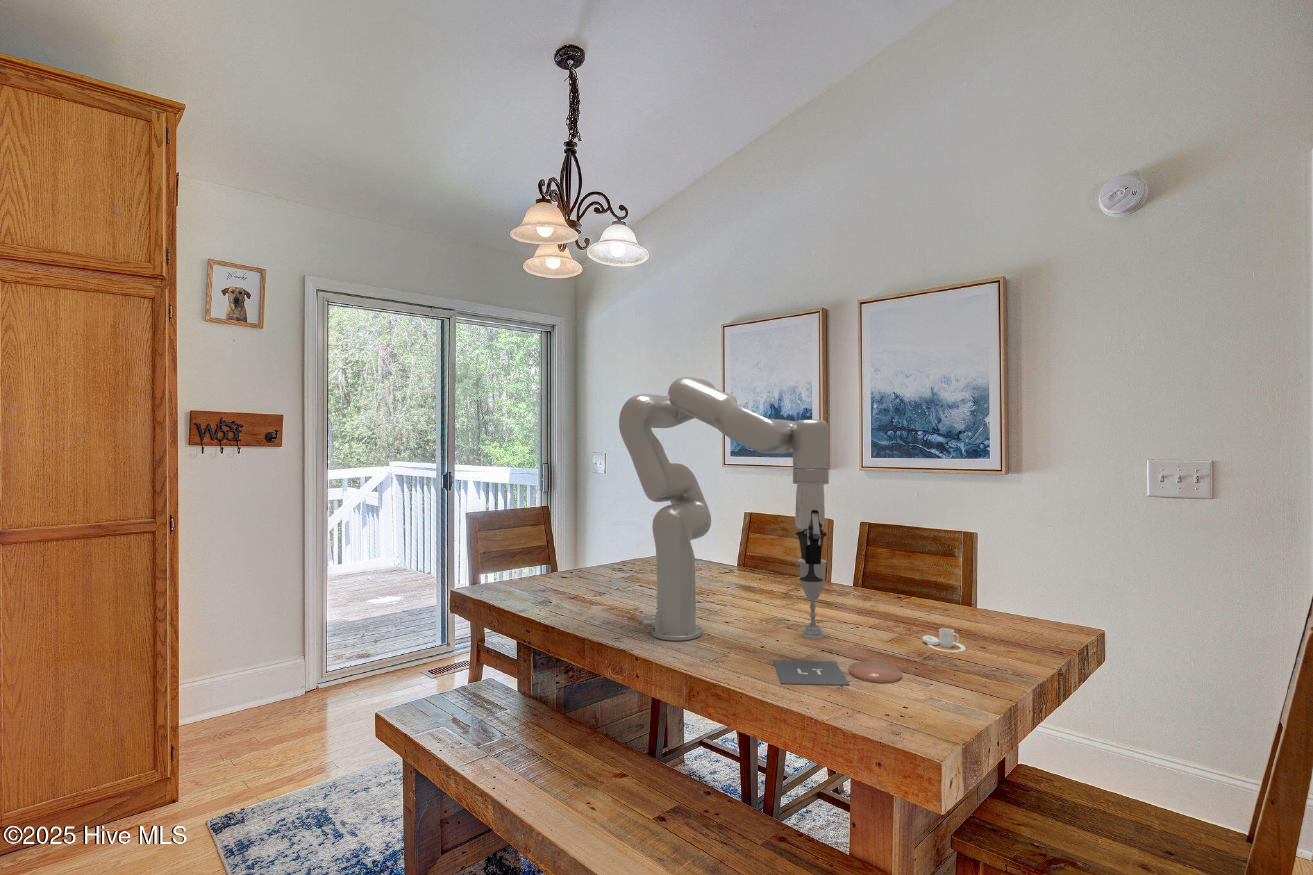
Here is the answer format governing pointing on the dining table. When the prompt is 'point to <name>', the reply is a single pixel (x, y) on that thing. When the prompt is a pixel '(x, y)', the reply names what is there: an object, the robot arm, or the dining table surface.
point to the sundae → (803, 541)
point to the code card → (809, 672)
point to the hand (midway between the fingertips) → (810, 560)
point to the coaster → (875, 672)
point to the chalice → (812, 595)
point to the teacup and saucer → (943, 640)
